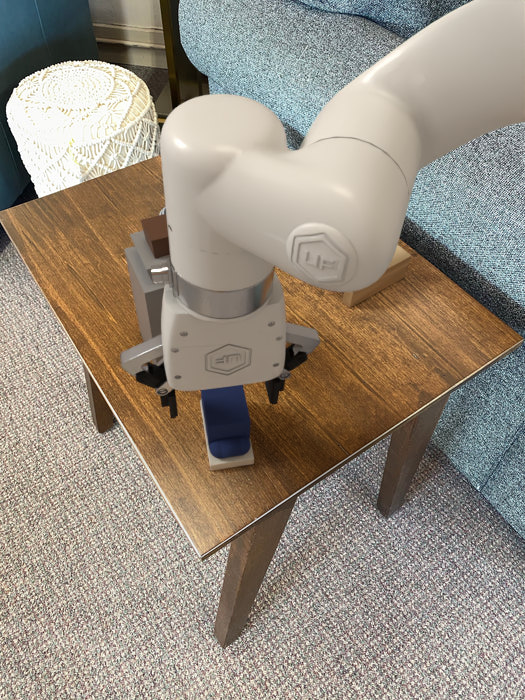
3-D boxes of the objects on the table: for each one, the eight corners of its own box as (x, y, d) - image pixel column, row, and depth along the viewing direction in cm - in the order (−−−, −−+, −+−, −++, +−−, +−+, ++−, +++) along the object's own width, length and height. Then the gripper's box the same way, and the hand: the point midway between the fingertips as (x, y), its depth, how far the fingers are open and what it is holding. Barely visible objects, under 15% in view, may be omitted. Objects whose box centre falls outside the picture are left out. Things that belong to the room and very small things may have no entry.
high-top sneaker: (200, 405, 62) (198, 375, 58) (240, 399, 63) (241, 370, 59) (210, 471, 58) (208, 444, 53) (253, 464, 58) (255, 437, 54)
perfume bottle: (140, 333, 68) (117, 213, 54) (193, 317, 70) (184, 197, 56) (158, 375, 65) (138, 258, 51) (213, 357, 67) (209, 239, 52)
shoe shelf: (404, 277, 76) (412, 255, 73) (349, 308, 72) (354, 286, 69) (336, 221, 83) (340, 199, 80) (282, 246, 79) (285, 224, 76)
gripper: (104, 324, 38) (134, 445, 52) (349, 297, 41) (317, 419, 55) (101, 248, 43) (130, 379, 56) (322, 229, 45) (299, 358, 59)
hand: (222, 398), depth 55 cm, fingers open, 9 cm apart
